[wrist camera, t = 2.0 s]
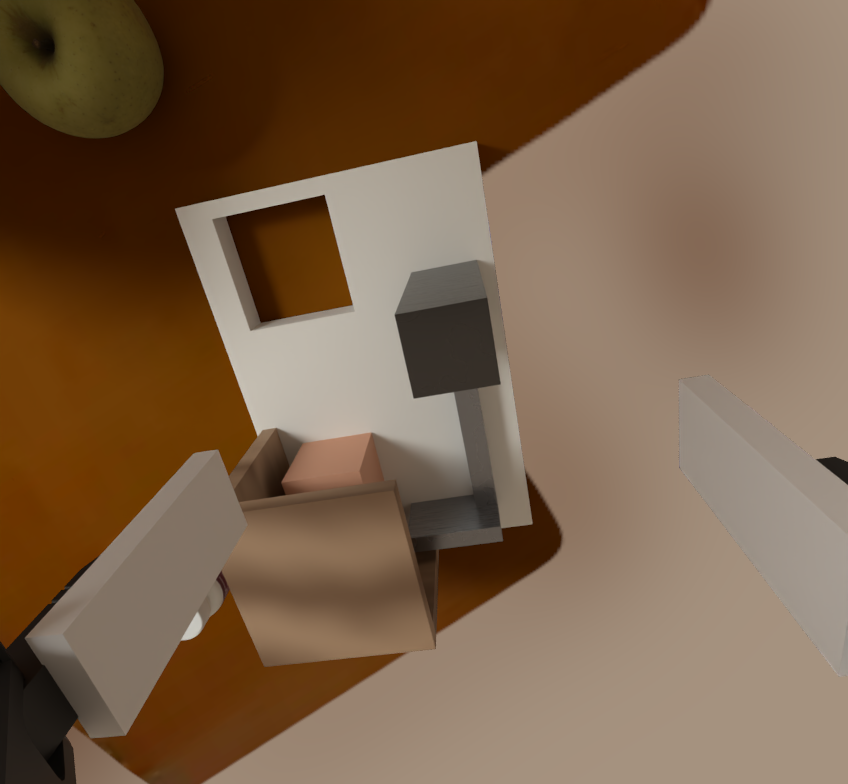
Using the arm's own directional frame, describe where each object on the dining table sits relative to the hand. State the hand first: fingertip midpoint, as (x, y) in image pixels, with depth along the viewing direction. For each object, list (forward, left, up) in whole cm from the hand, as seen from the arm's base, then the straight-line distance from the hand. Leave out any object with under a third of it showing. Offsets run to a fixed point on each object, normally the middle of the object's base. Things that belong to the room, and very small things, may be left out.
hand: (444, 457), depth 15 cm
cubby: (+12, -9, -19) cm, 24 cm away
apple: (-17, -16, -21) cm, 31 cm away
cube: (+10, -9, -19) cm, 23 cm away
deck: (+4, -6, -21) cm, 22 cm away
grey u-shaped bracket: (+6, -2, -19) cm, 20 cm away
